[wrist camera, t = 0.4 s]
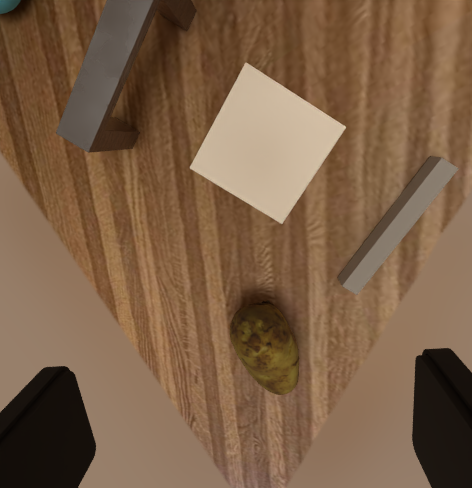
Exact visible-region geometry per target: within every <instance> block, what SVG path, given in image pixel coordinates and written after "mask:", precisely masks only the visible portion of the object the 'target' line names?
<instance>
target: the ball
mask: <svg viewBox="0 0 472 488" xmlns="http://www.w3.org/2000/svg"><path fill="white" fill-rule="evenodd" d="M20 1H21V0H0V14H3V13H7V12H9V11H11V10H13V9H14V8H15V7H16V6H17V5H18V4H19V3H20Z"/></svg>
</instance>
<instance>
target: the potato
mask: <svg viewBox="0 0 472 488" xmlns="http://www.w3.org/2000/svg"><path fill="white" fill-rule="evenodd" d="M230 338H231V342H232V344H233V346H234V349H235V351H236V353H237V355H238V357H239V358H240V360H241V361H242V363H243V365H244V366H245V368H246V369H247V370H248V372H249V373H250V374H251V376H252V377H253V378H254V379H255V380H256V381H257V382H258V383H259V384H260V385H261V386H262V387H264V388H265V389H266V390H268V391H270V392H272V393H274V394H277V395H283V394H287V393H289V392H291V391H292V390H293V389H294V388H295V387H296V385H297V382H298V376H299V356H298V346H297V343H296V339H295V337H294V335H293V333H292V331H291V329H290V327H289V326H288V324H287V322H286V320H285V318H284V316H283V315H282V314H281V312H280V311H279V310H278V309H277V308H276V307H274V305H273V304H272V303H271V302H270V301H268V300H267V302H265V301H263V302H262V303H257V304H251V305H248V306H246V307H244V308H242V309H240V310H238V311H237V312H236V314H235V316H234V318H233V320H232V322H231V326H230Z"/></svg>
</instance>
